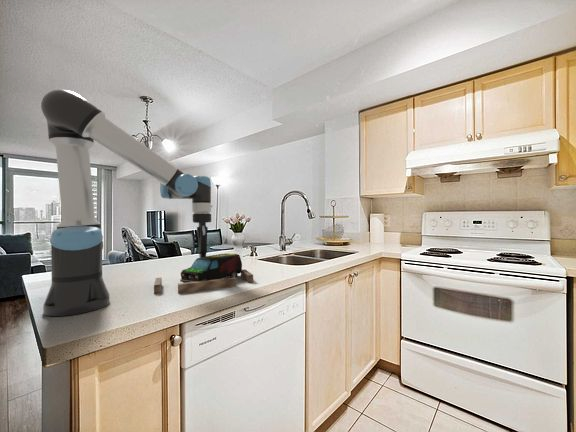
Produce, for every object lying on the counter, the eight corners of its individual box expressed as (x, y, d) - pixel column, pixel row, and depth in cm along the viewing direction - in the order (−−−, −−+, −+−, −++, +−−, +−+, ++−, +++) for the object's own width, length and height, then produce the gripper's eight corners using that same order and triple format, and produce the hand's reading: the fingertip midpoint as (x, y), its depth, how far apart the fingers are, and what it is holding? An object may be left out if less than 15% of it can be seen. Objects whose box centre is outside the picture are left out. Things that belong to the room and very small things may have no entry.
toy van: (178, 286, 99) (178, 259, 99) (225, 273, 121) (225, 251, 121) (198, 290, 94) (197, 262, 94) (243, 276, 115) (243, 253, 115)
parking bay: (153, 296, 87) (153, 287, 87) (155, 285, 101) (155, 277, 101) (255, 284, 101) (255, 276, 101) (245, 276, 115) (245, 269, 115)
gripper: (213, 212, 107) (214, 270, 107) (209, 213, 119) (210, 265, 119) (193, 213, 104) (195, 272, 104) (191, 213, 116) (192, 266, 116)
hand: (203, 268), depth 112 cm, fingers closed
